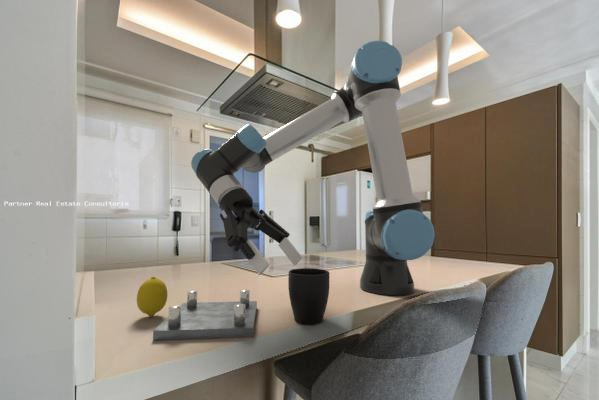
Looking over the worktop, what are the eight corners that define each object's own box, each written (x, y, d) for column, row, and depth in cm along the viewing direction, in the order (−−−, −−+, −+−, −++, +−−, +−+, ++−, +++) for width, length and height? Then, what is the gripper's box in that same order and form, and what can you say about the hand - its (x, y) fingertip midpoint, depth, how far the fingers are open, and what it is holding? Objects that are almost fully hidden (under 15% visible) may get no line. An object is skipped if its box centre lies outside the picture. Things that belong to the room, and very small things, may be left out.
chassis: (256, 307, 63) (257, 287, 63) (252, 336, 47) (253, 309, 47) (183, 309, 61) (183, 288, 61) (152, 340, 45) (154, 311, 46)
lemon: (161, 310, 61) (162, 273, 61) (170, 316, 57) (172, 276, 57) (132, 316, 57) (134, 276, 57) (140, 323, 53) (142, 280, 53)
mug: (309, 306, 64) (309, 264, 65) (337, 324, 53) (337, 273, 54) (275, 311, 61) (276, 266, 62) (298, 330, 50) (298, 276, 51)
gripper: (255, 211, 80) (300, 268, 72) (180, 206, 58) (233, 288, 50) (270, 191, 78) (319, 249, 69) (199, 179, 56) (257, 260, 48)
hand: (283, 265), depth 60 cm, fingers open, 13 cm apart
